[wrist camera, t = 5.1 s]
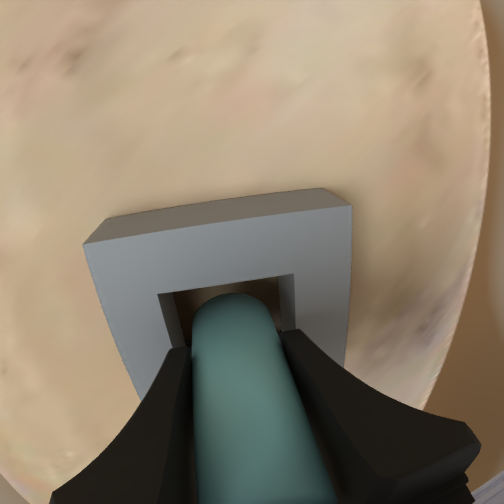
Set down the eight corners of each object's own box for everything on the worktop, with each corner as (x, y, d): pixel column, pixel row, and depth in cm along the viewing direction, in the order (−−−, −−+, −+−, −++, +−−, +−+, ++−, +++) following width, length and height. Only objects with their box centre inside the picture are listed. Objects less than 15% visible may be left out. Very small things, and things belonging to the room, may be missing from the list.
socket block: (322, 355, 17) (340, 392, 14) (156, 381, 16) (152, 423, 13) (322, 187, 13) (352, 205, 11) (105, 219, 12) (82, 244, 10)
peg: (273, 351, 13) (329, 522, 6) (199, 361, 13) (212, 542, 6) (270, 287, 12) (348, 479, 5) (185, 298, 12) (184, 507, 5)
